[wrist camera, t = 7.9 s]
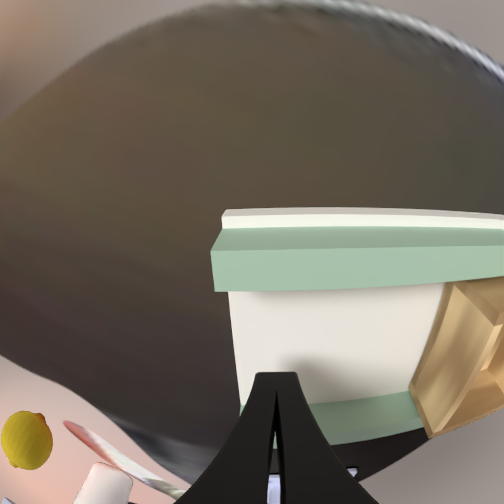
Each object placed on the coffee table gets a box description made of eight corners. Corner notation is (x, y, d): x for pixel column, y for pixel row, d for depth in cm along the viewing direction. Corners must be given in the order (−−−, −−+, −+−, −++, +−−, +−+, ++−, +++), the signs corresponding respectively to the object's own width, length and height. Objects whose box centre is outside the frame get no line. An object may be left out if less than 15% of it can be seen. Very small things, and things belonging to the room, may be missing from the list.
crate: (484, 366, 11) (508, 404, 8) (407, 387, 12) (428, 438, 8) (526, 261, 9) (568, 292, 5) (449, 266, 9) (499, 313, 6)
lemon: (22, 389, 17) (-14, 441, 10) (65, 423, 18) (35, 481, 11) (23, 406, 19) (-6, 451, 12) (61, 435, 20) (36, 484, 13)
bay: (477, 373, 13) (495, 402, 10) (244, 407, 14) (240, 451, 11) (531, 217, 9) (567, 236, 6) (226, 209, 10) (208, 236, 7)
